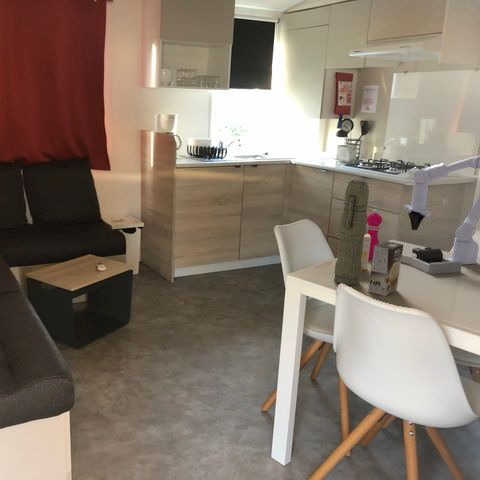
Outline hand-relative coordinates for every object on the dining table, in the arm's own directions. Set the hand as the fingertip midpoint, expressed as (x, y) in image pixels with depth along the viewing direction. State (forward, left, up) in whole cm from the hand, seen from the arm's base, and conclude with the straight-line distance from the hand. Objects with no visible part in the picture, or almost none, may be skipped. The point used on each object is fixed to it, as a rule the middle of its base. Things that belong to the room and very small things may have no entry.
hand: (414, 229), depth 228 cm
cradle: (+6, +19, -10) cm, 22 cm away
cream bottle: (+38, +15, -10) cm, 42 cm away
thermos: (+50, +28, -10) cm, 58 cm away
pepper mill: (+24, +4, -10) cm, 26 cm away
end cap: (+7, +17, -10) cm, 21 cm away
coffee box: (+43, +39, -10) cm, 59 cm away
